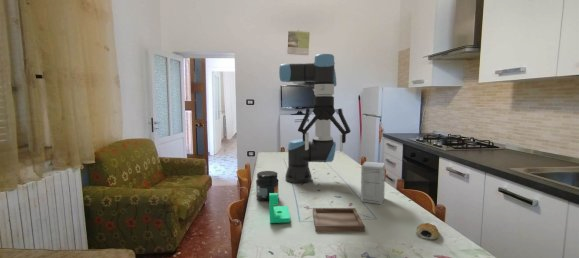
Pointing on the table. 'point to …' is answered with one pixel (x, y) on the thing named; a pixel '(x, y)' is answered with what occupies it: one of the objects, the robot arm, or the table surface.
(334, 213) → the tray
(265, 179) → the supplement container
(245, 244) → the table surface
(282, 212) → the camera mount
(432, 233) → the pastry
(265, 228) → the table surface
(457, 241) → the table surface
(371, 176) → the supplement box
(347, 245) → the table surface
